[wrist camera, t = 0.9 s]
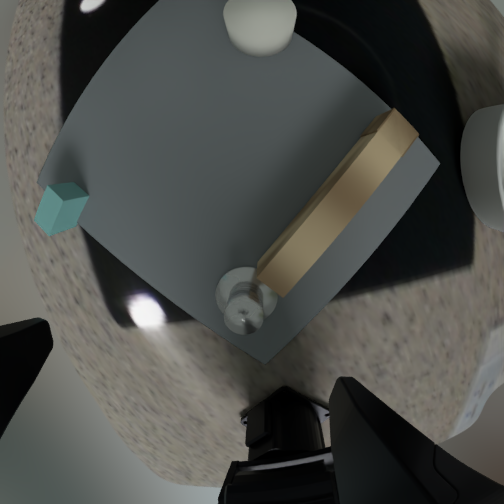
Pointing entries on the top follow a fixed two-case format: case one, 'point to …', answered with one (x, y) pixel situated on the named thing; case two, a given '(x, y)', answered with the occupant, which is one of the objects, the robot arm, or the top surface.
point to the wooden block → (336, 201)
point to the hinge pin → (244, 300)
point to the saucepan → (485, 165)
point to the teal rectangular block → (60, 207)
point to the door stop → (260, 25)
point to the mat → (222, 163)
